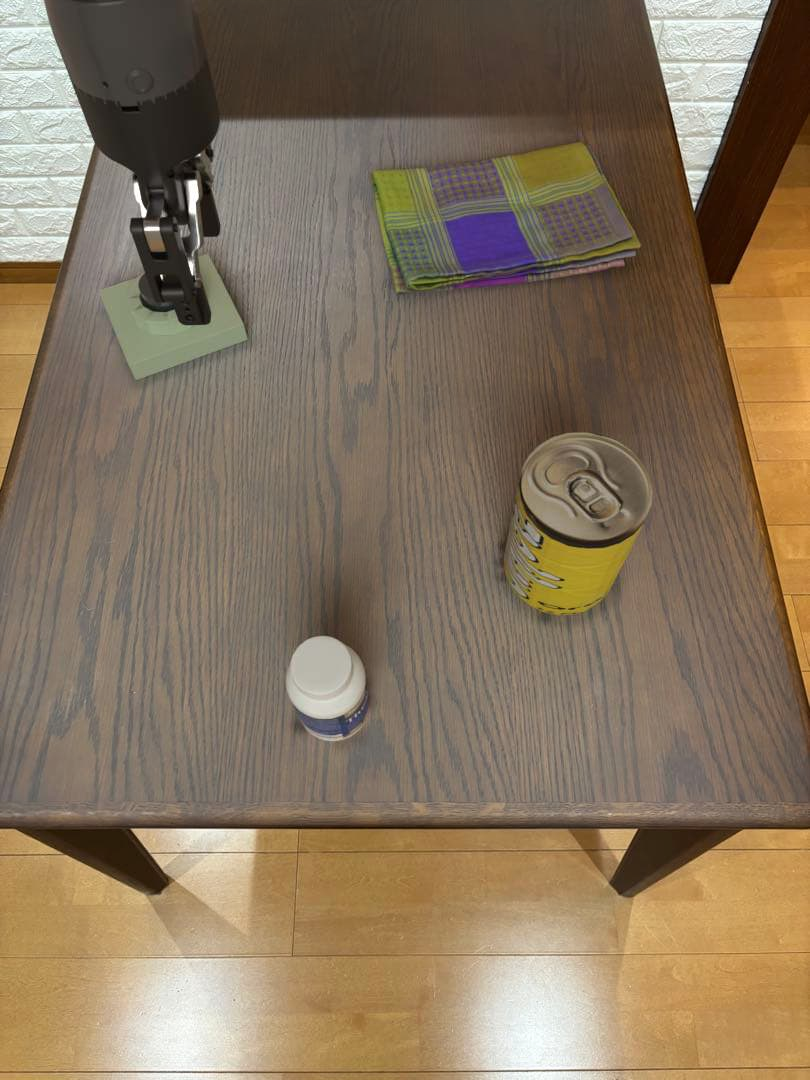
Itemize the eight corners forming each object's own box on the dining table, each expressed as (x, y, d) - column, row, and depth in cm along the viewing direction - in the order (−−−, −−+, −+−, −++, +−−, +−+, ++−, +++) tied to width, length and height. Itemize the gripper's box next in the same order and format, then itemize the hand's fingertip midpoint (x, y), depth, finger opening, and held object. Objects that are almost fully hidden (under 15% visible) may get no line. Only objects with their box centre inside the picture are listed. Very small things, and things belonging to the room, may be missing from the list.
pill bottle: (363, 748, 60) (354, 711, 51) (291, 736, 60) (270, 698, 52) (376, 677, 62) (369, 631, 54) (307, 667, 63) (289, 619, 54)
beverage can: (558, 495, 69) (583, 410, 59) (638, 568, 66) (680, 492, 56) (480, 558, 67) (491, 481, 56) (559, 637, 64) (587, 571, 53)
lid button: (151, 318, 74) (145, 304, 73) (138, 288, 76) (132, 274, 74) (193, 303, 75) (188, 289, 74) (179, 274, 77) (174, 260, 75)
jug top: (135, 380, 76) (122, 352, 72) (105, 306, 80) (91, 276, 76) (248, 340, 78) (240, 310, 74) (213, 269, 82) (203, 238, 78)
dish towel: (368, 181, 87) (367, 159, 85) (591, 152, 89) (596, 129, 87) (396, 304, 79) (395, 283, 77) (640, 269, 81) (647, 248, 79)
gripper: (85, -20, 48) (160, 208, 62) (42, 140, 41) (137, 355, 56) (214, -23, 48) (259, 206, 62) (192, 136, 41) (248, 352, 56)
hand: (201, 276), depth 59 cm, fingers open, 8 cm apart
